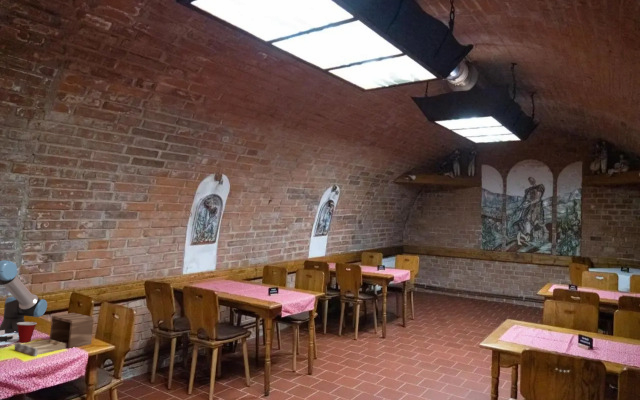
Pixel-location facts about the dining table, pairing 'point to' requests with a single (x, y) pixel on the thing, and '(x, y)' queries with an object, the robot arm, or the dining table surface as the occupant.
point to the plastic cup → (25, 331)
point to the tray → (40, 347)
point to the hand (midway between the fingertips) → (10, 334)
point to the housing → (72, 329)
